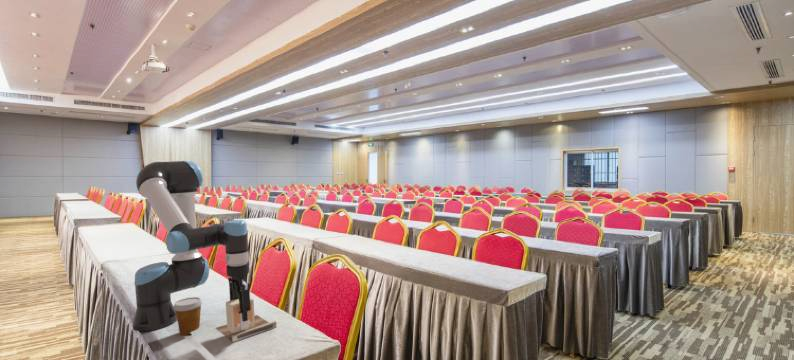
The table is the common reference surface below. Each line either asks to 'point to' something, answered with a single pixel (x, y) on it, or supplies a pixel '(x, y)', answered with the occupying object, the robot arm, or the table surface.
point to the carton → (234, 316)
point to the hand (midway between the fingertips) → (241, 326)
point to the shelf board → (259, 327)
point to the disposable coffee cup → (188, 314)
